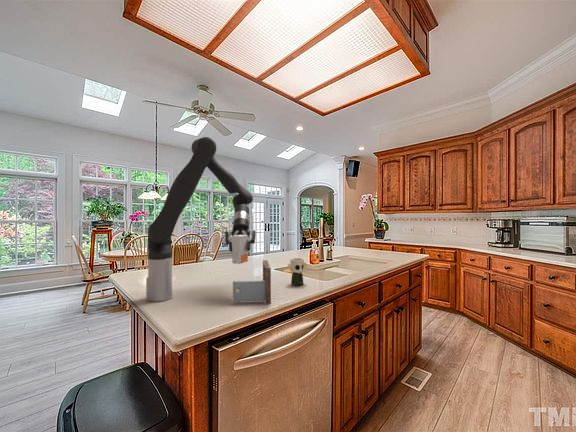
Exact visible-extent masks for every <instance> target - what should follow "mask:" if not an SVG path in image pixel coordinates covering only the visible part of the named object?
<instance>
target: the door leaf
mask: <svg viewBox="0 0 576 432" xmlns="http://www.w3.org/2000/svg"><path fill="white" fill-rule="evenodd" d="M242 302H243V303H247V302H266V291H265V281H263V280H233V281H232V303H242Z"/></svg>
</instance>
